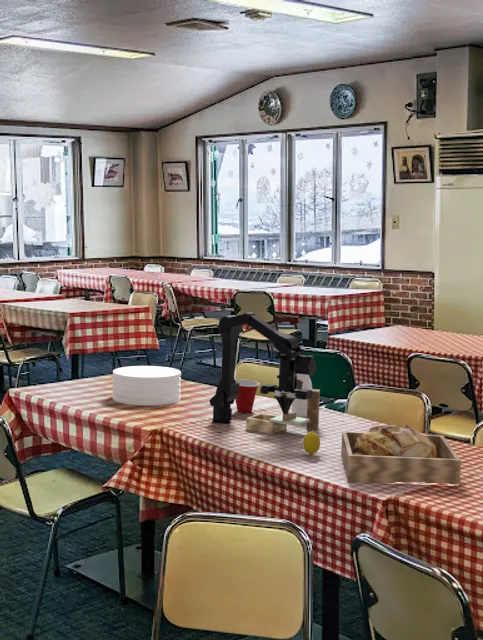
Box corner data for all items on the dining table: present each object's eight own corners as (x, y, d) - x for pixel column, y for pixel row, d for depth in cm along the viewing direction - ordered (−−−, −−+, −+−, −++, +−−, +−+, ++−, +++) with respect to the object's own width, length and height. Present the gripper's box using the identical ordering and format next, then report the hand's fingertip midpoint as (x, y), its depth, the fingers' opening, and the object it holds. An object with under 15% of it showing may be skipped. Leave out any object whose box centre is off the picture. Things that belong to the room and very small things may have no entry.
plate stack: (193, 398, 387) (194, 371, 385) (152, 408, 363) (153, 380, 362) (141, 389, 402) (141, 363, 400) (98, 399, 378) (98, 371, 377)
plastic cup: (247, 415, 355) (248, 385, 354) (225, 411, 362) (226, 381, 360) (264, 411, 364) (265, 381, 362) (242, 407, 370) (243, 377, 369)
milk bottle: (309, 418, 354) (311, 366, 352) (289, 416, 356) (291, 365, 354) (312, 414, 362) (314, 363, 360) (292, 412, 363) (294, 362, 361)
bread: (344, 462, 298) (342, 416, 296) (428, 457, 298) (427, 412, 296) (354, 485, 274) (352, 436, 272) (446, 480, 274) (445, 431, 272)
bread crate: (347, 482, 270) (348, 455, 269) (341, 455, 300) (342, 431, 299) (459, 487, 268) (461, 460, 268) (441, 459, 299) (443, 435, 298)
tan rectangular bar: (306, 428, 336) (307, 390, 335) (307, 426, 340) (309, 388, 339) (317, 429, 336) (318, 391, 334) (318, 427, 340) (319, 389, 338)
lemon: (301, 453, 302) (302, 429, 301) (318, 453, 302) (319, 429, 301) (303, 457, 296) (304, 433, 295) (320, 457, 297) (321, 433, 296)
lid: (268, 421, 327) (269, 413, 327) (282, 416, 335) (283, 409, 335) (295, 426, 321) (296, 418, 321) (309, 421, 330) (309, 413, 329)
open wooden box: (246, 429, 332) (246, 417, 332) (260, 424, 341) (260, 413, 340) (272, 434, 327) (272, 422, 326) (286, 428, 335) (286, 417, 335)
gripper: (321, 372, 329) (319, 415, 331) (275, 366, 339) (274, 408, 341) (306, 376, 320) (304, 420, 321) (259, 370, 330) (258, 413, 331)
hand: (285, 415), depth 329 cm, fingers closed
